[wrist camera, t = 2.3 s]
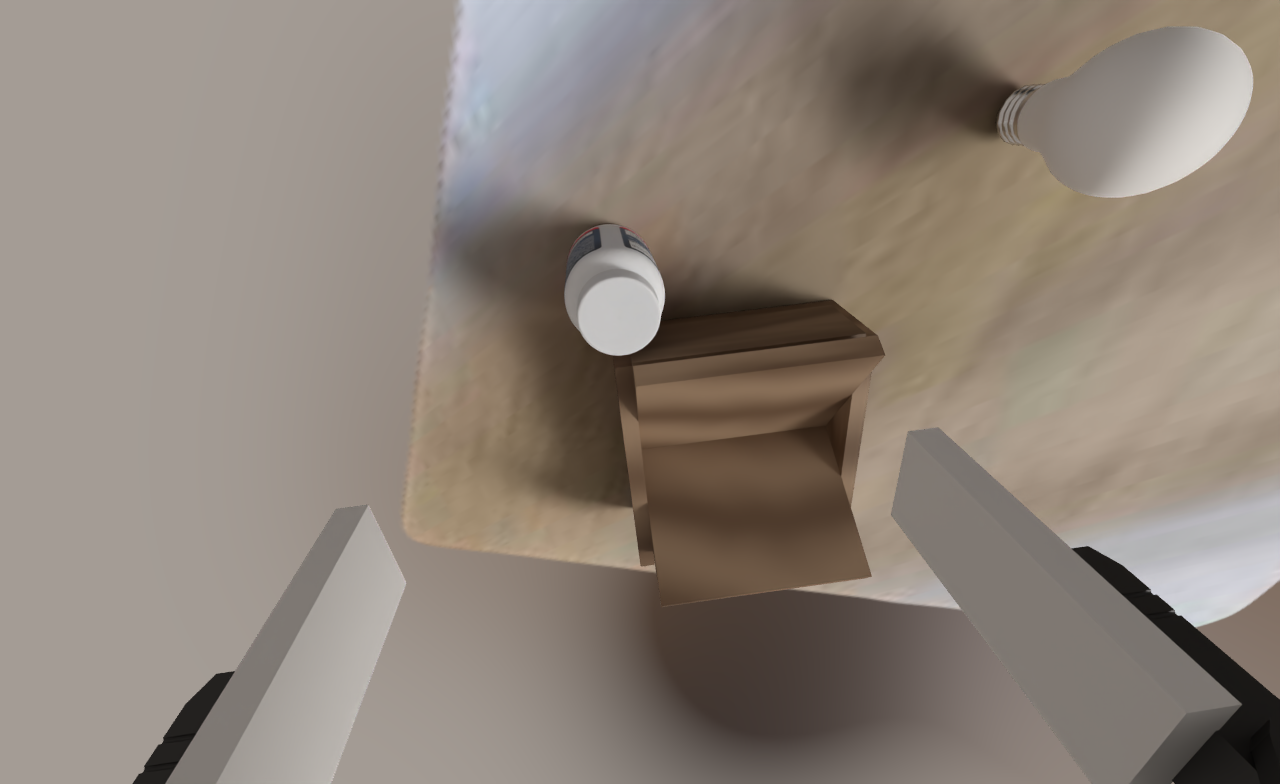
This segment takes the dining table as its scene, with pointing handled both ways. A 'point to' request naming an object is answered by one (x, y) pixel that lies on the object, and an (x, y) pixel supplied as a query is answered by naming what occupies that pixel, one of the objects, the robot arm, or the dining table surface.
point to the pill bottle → (613, 290)
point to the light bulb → (1135, 112)
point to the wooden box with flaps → (747, 449)
